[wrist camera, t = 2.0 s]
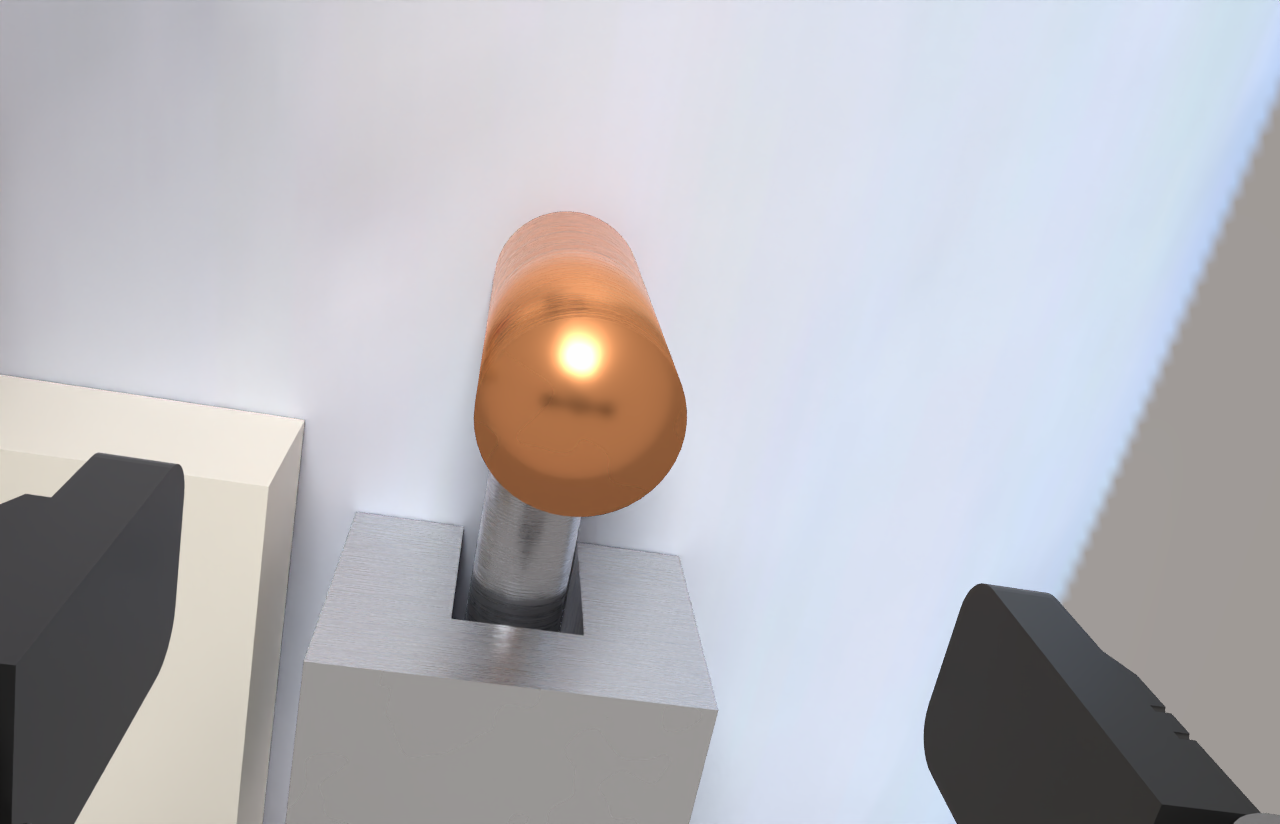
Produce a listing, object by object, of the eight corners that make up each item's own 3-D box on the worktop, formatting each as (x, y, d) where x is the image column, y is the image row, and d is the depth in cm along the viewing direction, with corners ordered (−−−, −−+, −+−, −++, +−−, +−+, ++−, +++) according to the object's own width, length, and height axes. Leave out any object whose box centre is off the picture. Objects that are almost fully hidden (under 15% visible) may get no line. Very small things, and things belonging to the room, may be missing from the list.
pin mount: (679, 556, 26) (718, 710, 20) (629, 768, 28) (653, 962, 22) (355, 511, 25) (304, 661, 19) (328, 735, 27) (273, 930, 21)
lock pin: (651, 225, 23) (707, 336, 16) (529, 832, 28) (526, 1137, 21) (506, 199, 23) (491, 301, 15) (408, 820, 28) (361, 1126, 20)
